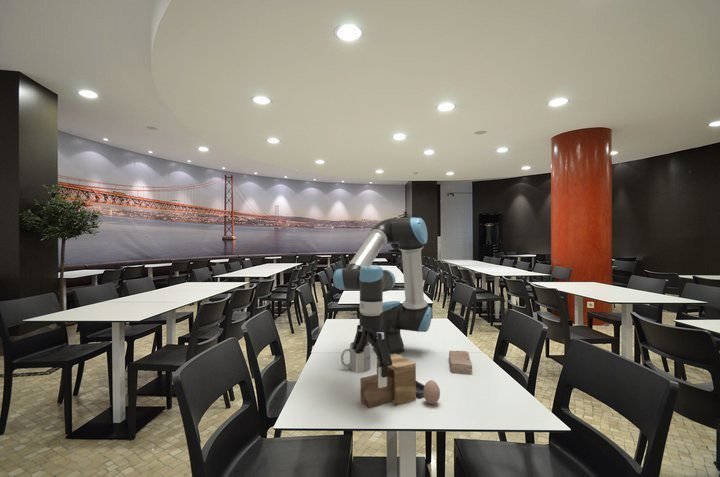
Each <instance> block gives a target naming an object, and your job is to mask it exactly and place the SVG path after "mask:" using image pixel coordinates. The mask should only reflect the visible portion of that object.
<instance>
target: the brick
mask: <svg viewBox="0 0 720 477" xmlns="http://www.w3.org/2000/svg"><path fill="white" fill-rule="evenodd" d="M448 361H449V362H448V363H449V367H450V373H451V374H454V375H455V374H456V375H457V374H458V375H466V376H467V375H468V376H471V375H472V373H473V363H472V361H471V358H470V353H469V351H466V350H449V351H448Z"/></svg>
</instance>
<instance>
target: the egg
mask: <svg viewBox="0 0 720 477" xmlns="http://www.w3.org/2000/svg"><path fill="white" fill-rule="evenodd" d="M424 385H425V386H424V390H423V395H424V397H423V398H424V399H425V401H426V402H427V403H428V404H431V405H434V404H436V403H437V402H438V401H439V399H440V398H441V391H440V390H441V389H440V387H439V385H438V383H437V382H436V381H434V380H433V379H431V380H428V381H426V383H425V384H424Z"/></svg>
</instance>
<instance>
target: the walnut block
mask: <svg viewBox="0 0 720 477" xmlns="http://www.w3.org/2000/svg"><path fill="white" fill-rule="evenodd" d="M359 379H360V382H359V383H360V397H359V399H360V401H359V403H361V404H362V405H363V406H364V407H366V408H367V409H368V410H369V409H373V408H376V407H379V406H382V405H385V404H389V403H394V370H392V371H388V372H387V387H383V388H378V374H377V373H376V374H372V375H368V376H364V377H360V378H359Z"/></svg>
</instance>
